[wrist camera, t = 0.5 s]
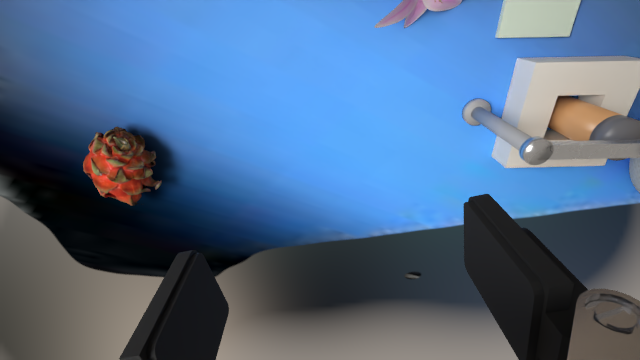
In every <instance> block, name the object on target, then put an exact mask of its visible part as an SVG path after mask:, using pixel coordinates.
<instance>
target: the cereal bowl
mask: <svg viewBox="0 0 640 360" xmlns="http://www.w3.org/2000/svg"><path fill="white" fill-rule="evenodd" d="M629 174H630V178H631V181H632V183H633V185H634V186H635V188H636V190H638V191H639V193H640V158H630V162H629Z"/></svg>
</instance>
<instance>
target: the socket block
mask: <svg viewBox="0 0 640 360" xmlns="http://www.w3.org/2000/svg"><path fill="white" fill-rule="evenodd" d="M639 88H640V58H634V57H628V56H587V57H536V58H517V61H516V64H515V68H514V72H513V76H512V80H511V84H510V87H509V91H508V95H507V99H506V103H505V106H504V110H503V114H502V118H499V117H497V116H496V115H494V114H492V113H491V107H490V104H489V103H488V102H487V101H485V100H483V99H479V98H477V99H473V100H471V101H469V102H468V103H467V104H466V105H465V106H464V108H463V111H462V117H463V119H464V120H465V121H466V122H467V123H468V124H470V125H480V124H482V125H483V126H485V127H486V128H487V129H489V130H490V131H492V132H493V133H495V134H496V135H497V137H496V141H495V145H494V149H493V152H492V157H493V158H494V159H495V160H497V161H498V162H499V163H500V164H501V165H503V166H504V167H505V168H525V167H568V166H605V163H606V161H607V159H608V158H607V159H564V160H547V161H546V162H544V163H542V164H540V165H530V164H528V163H527V162H525V161H524V160H523V159H521V157H520V155H519V150H520V147H521V145H522V144H523V143H524V142H525V141H526V140H527V139H529V138H531V137H535V136H540V137H543V138H545V139H546V140H548V141H573V140H571V139H569V138H567V137H565V136H564V135H562V134H560V133H558V132H556V131H554V130H547V127H548V124H549V121H550V118H551V115H552V112H553V109H554V106H555V103H556V100H557V97H558V96H566V95H579V97H578V99H579V100H582V101H585V102H588V103H590V104H593V105H596V106H599V107H602V108H605V109H607V110H610V111H613V112H616V113H619V114H622V115H624V116H627V115H628V113H629V110H630V108H631V106H632V104H633V101H634V99H635V97H636V95H637V93H638V90H639Z"/></svg>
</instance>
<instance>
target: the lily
mask: <svg viewBox="0 0 640 360" xmlns="http://www.w3.org/2000/svg"><path fill="white" fill-rule="evenodd" d="M461 1H462V0H403V1H402V2H401V3H400V4H399V5H398V6H397V7H396V8H395V9H394V10H393V11H391V12H390V13H389V14H388V15H387V16H386V17H384V18H383V19H382V20H381V21H380V22H378V23H377V24H376V25H375V28H379V27H384V26H388V25H391V24H394V23H397V22H399V21H401V20H403V19H404V18H406V19H405V23H404V28H406V27H408V26H409V25H411V24H412V23H413V22H414V21H416V20H417V19H418V18H419V17H420V16H421V15H422V14H423V13H424V12H425V11H426V10H427V9H429V10H432V11H444V10H449V9H452V8H455V7H456V6H458V5H459V4H460V3H461Z"/></svg>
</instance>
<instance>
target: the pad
mask: <svg viewBox="0 0 640 360" xmlns="http://www.w3.org/2000/svg"><path fill="white" fill-rule="evenodd" d="M580 2H581V0H503V5H502V9H501V14H500V18H499V23H498V27H497V32H496V36H495V38H517V37H569V35H570V32H571V29H572V26H573V23H574V20H575V17H576V14H577V11H578V8H579V5H580Z"/></svg>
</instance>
